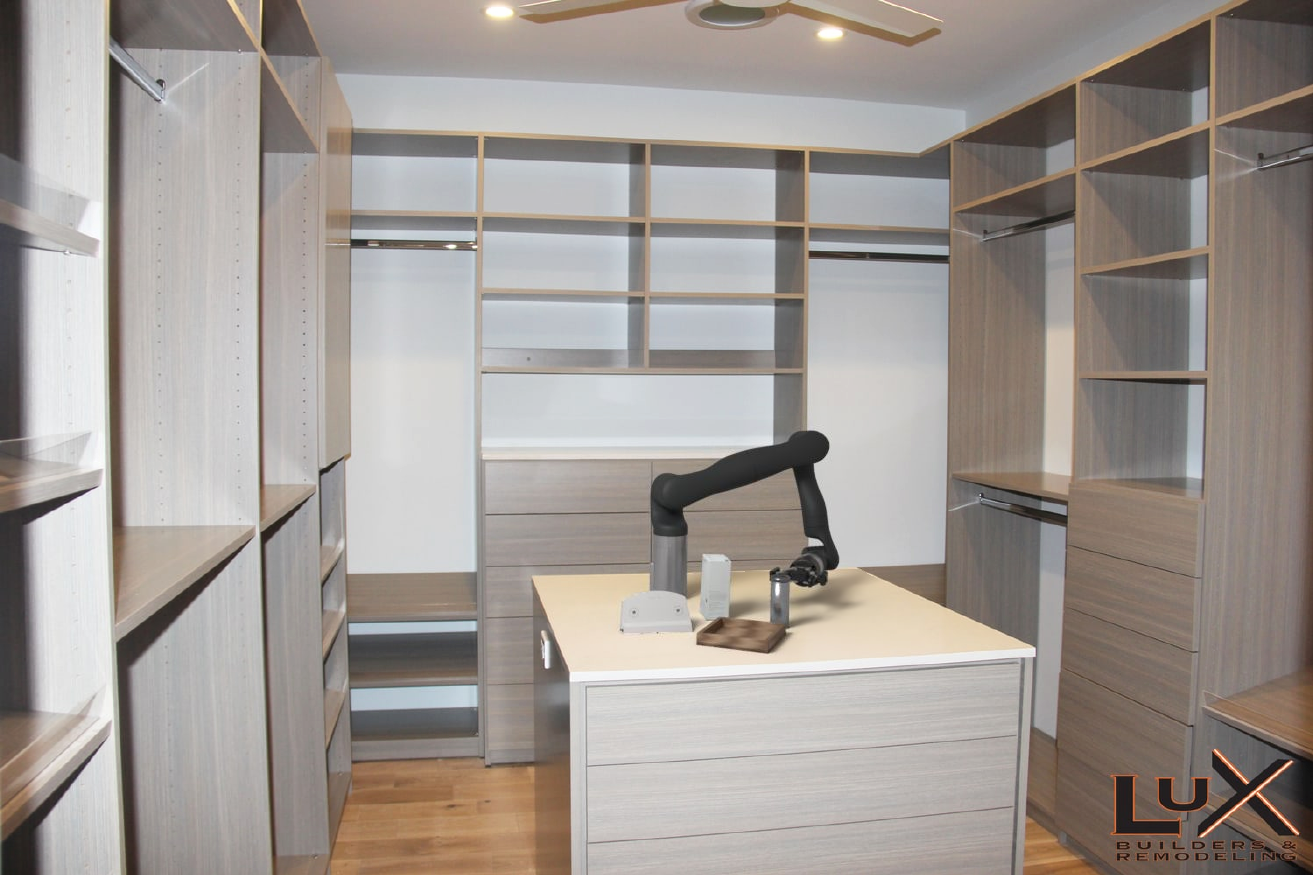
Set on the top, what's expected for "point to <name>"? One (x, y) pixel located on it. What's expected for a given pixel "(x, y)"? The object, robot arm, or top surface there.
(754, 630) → the walnut tray
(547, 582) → the top surface
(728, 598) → the skincare box
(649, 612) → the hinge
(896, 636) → the top surface
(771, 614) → the steel canister
